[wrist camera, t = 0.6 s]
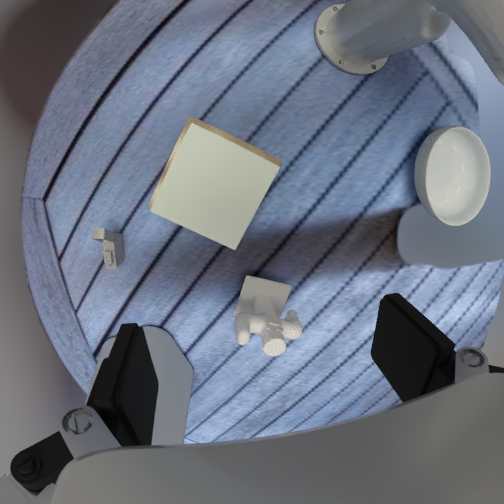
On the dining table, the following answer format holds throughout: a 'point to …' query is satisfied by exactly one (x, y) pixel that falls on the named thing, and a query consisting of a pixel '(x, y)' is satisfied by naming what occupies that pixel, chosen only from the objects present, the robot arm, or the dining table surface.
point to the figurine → (265, 315)
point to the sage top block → (213, 186)
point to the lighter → (110, 246)
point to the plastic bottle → (164, 385)
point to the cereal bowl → (452, 174)
